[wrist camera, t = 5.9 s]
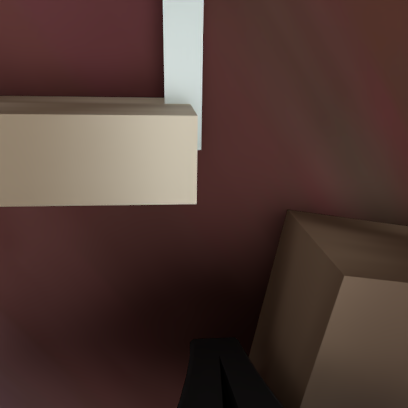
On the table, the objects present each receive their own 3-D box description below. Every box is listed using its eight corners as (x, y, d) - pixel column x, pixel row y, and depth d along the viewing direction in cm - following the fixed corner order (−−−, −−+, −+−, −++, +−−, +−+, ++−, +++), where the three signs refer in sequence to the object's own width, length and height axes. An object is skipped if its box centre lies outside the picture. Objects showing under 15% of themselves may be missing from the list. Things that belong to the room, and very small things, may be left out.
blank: (223, 445, 14) (242, 576, 11) (285, 207, 11) (344, 275, 8) (330, 449, 15) (384, 574, 11) (418, 225, 12) (533, 297, 8)
